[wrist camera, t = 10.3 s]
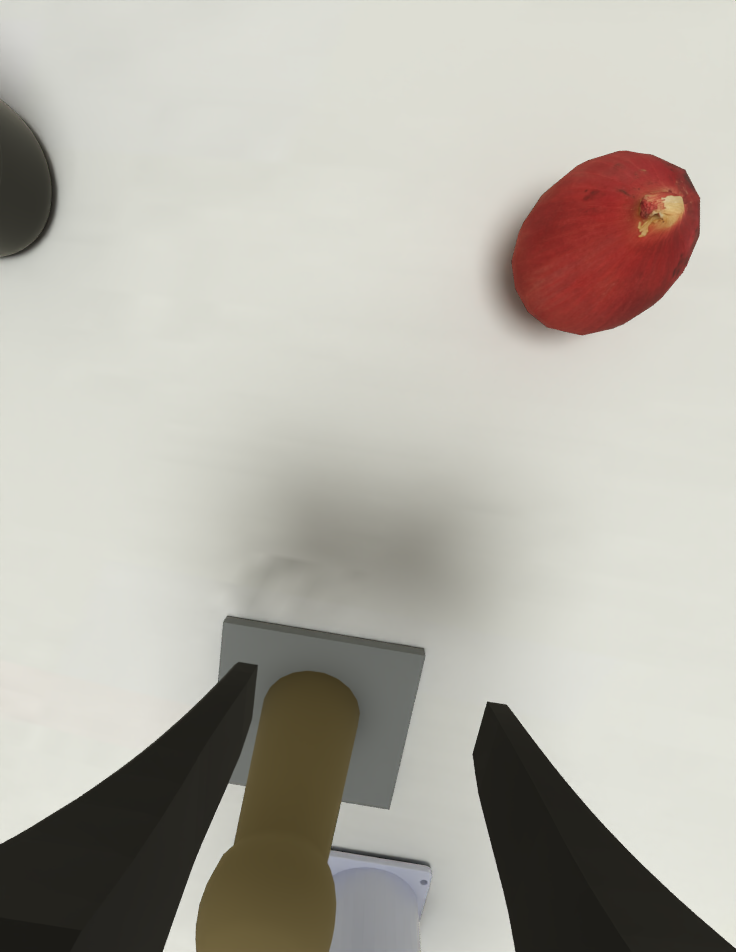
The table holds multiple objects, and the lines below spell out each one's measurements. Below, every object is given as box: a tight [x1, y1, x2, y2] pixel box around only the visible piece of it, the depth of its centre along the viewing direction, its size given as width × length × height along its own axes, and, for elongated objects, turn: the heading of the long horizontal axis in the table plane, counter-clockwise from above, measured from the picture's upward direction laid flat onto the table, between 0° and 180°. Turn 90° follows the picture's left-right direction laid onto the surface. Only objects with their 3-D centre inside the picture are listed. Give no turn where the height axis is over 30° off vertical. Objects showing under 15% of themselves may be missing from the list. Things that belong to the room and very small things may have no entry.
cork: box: [196, 671, 360, 952], centre depth 18 cm, size 6×6×11 cm
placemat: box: [218, 616, 425, 810], centre depth 24 cm, size 12×12×1 cm
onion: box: [512, 151, 700, 335], centre depth 14 cm, size 6×6×8 cm
